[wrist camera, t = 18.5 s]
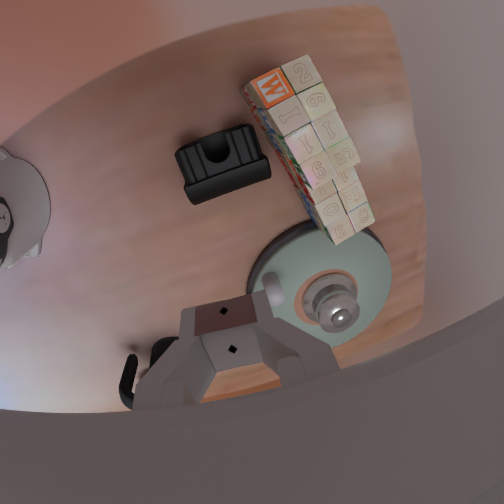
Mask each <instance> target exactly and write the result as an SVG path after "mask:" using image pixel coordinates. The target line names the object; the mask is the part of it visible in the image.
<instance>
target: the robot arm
mask: <svg viewBox="0 0 504 504" xmlns="http://www.w3.org/2000/svg"><path fill="white" fill-rule="evenodd" d="M49 217H50V201H49V195H48V191H47V188H46V186H45V183H44V181H43V179H42V177H41V176H40V174H39V173H38V172H37V170H36V169H35V168H34V167H33V166H32V165H31V164H29V163H28V162H26V161H24V160H22V159H18V158H14V157H12V156H11V155H10V154H9V153H8V152H7V151H6V150H4V149H3V148H0V268H1V269H2V270H4V269H6V268H7V267H8V268H11V267H13V266H14V265H15V264H16V263H17V262H19V261H20V260H21V259H22V258H33V257H36V256H38V255H39V254H40V252H41V239H42V236H43V234H44V232H45V230H46V228H47V225H48V222H49ZM251 295H252V296H251ZM260 362H264V363H265V364H266V365H267V366H268V367H269V368H270V369H272V370H273V371H274V372H275V373H276V374H277V375H279V377H280V381H281V387H278V388H273V389H269V390H265V391H260V392H256V393H251V394H247V395H242V396H237V397H232V398H227V399H222V400H216V401H210V402H204V403H200V402H201V400H202V398H203V396H204V395H205V393H206V391H207V389H208V387H209V385H210V384H211V382H212V380H213V378H214V376H215V374H216V372H219V371H223V370H228V369H232V368H236V367H241V366H246V365H251V364H256V363H260ZM0 504H504V297H502V298H501V299H499V300H497V301H495V302H494V303H492V304H490V305H488V306H486V307H485V308H483V309H481V310H479V311H477V312H476V313H474V314H472V315H470V316H468V317H466V318H464V319H462V320H460V321H458V322H456V323H454V324H452V325H450V326H448V327H446V328H444V329H442V330H440V331H437V332H435V333H433V334H431V335H429V336H426V337H424V338H422V339H420V340H417V341H415V342H413V343H410V344H408V345H406V346H403V347H401V348H398V349H396V350H393V351H391V352H388V353H386V354H383V355H380V356H378V357H375V358H372V359H370V360H367V361H364V362H361V363H359V364H356V365H353V366H350V367H347V368H344V369H340V367H339V365H338V363H337V361H336V358H335V356H334V354H333V352H332V350H331V348H330V345H329V344H327V343H325V342H323V341H322V340H320V339H318V338H316V337H314V336H312V335H310V334H308V333H307V332H305V331H303V330H301V329H299V328H297V327H296V326H294V325H292V324H290V323H288V322H286V321H285V320H283V319H281V318H279V317H276V318H274V315H273V312H272V309H271V306H270V302H269V299H268V296H267V293H266V290H265V289H264V290H261V291H257V292H254V293H251V294H248V295H244V296H240V297H236V298H232V299H228V300H222V301H218V302H213V303H208V304H203V305H199V306H194V307H189V308H185V309H183V310H182V311H181V320H180V331H179V340H175V341H174V342H173V343H172V344H171V345H170V347H169V348H168V349H167V350H166V351H165V352H164V353H163V355H162V356H161V357H160V358H159V359H158V360H157V361H156V363H155V364H154V365H153V366H152V367H151V368H150V369H149V371H148V372H147V373H146V374H145V375H144V376H143V377H142V379H141V380H140V381H139V382H138V383H137V384H136V388H135V394H134V400H133V407H132V411H125V412H107V413H45V412H27V411H15V410H5V409H0Z"/></svg>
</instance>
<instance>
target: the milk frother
mask: <svg viewBox="0 0 504 504" xmlns="http://www.w3.org/2000/svg"><path fill="white" fill-rule="evenodd" d="M175 340H179V338H177V337H170V338H165V339H162V340H160V341H158V342H157V343H156V344H155V345H154V346H153V348H152V354H151V359H150V366H149V369H150V368H151V367H152V366H153V365H154V364H155V363H156V361H157V360H158V359H159V358H160V357H161V356H162V355H163V353H164V352H165V351H166V350H167V349H168V348H169V347H170V345H171V344H172V343H173V342H174V341H175ZM137 366H138V359H137V356H136V355H135V354H130V355H129V356H128V358H127V361H126V364H125V367H124V370H123V374H122V377H121V381H120V384H119V394H120V398H121V400H122V402H123V404H124V405H125V406H126V407H128V408H129V409H131V410H132V407H133V400H134V393H132V387H133V383H134V378H135V375H136V370H137Z"/></svg>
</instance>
